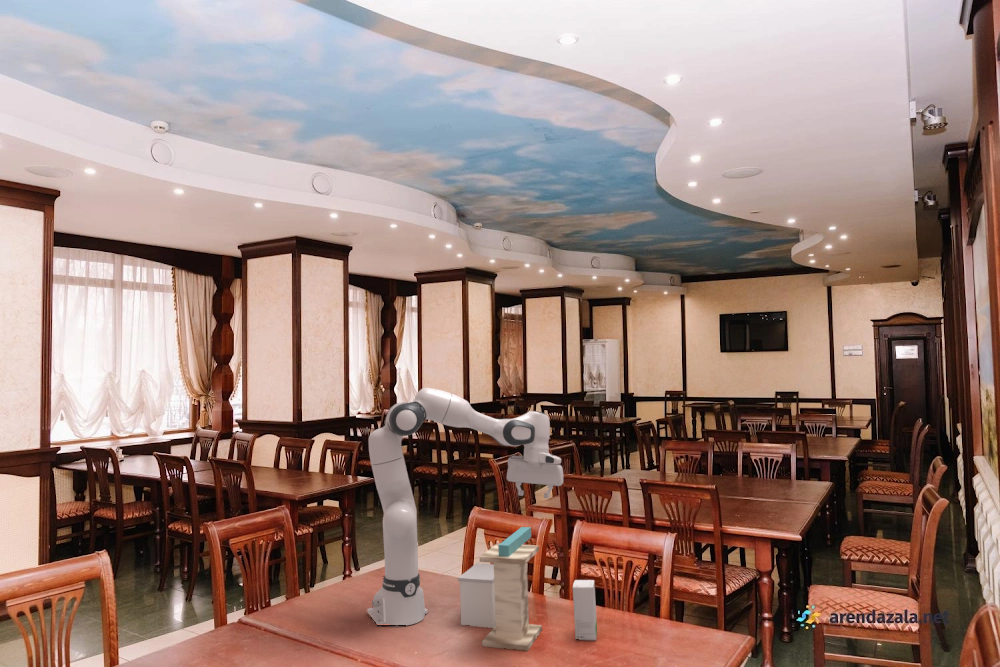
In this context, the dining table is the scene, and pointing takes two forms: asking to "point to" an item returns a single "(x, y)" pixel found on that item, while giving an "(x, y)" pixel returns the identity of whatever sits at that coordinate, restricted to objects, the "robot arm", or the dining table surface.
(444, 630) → the dining table surface
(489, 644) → the birch pedestal
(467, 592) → the grey storage box
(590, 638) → the skincare box
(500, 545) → the teal bar
